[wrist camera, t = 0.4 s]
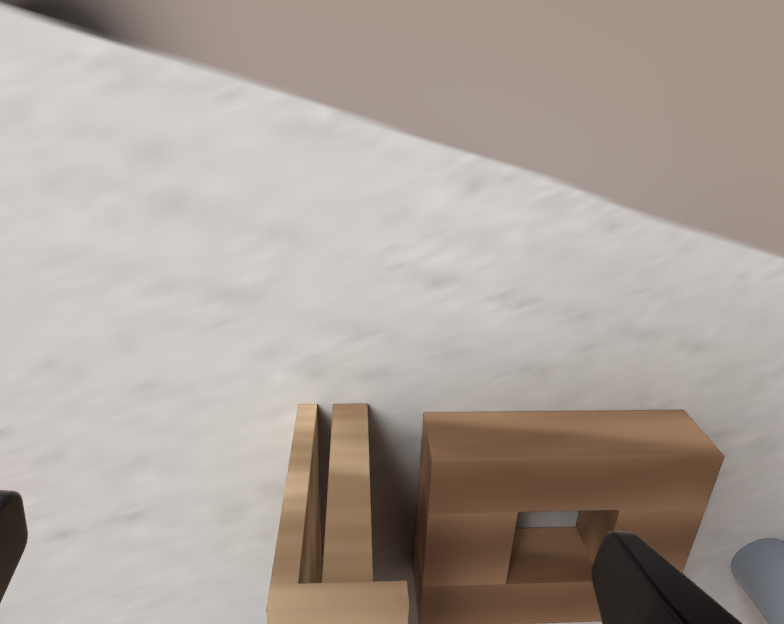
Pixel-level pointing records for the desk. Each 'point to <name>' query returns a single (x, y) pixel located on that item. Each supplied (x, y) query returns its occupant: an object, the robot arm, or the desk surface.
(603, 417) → the socket station
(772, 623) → the peg
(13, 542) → the robot arm
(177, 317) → the desk surface
